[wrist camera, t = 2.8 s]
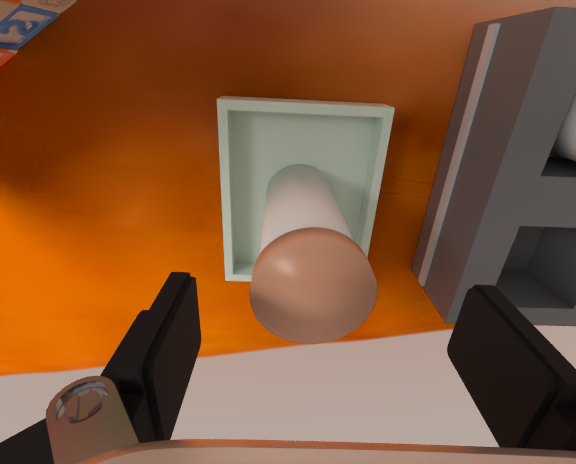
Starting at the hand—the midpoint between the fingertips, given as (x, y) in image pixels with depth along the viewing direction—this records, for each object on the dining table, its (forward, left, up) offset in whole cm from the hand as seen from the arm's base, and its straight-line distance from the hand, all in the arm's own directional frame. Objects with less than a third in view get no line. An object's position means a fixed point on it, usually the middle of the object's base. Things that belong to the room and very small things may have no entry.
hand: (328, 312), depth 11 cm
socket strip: (-2, +12, -11) cm, 17 cm away
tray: (0, -1, -11) cm, 11 cm away
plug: (0, -1, -10) cm, 10 cm away
